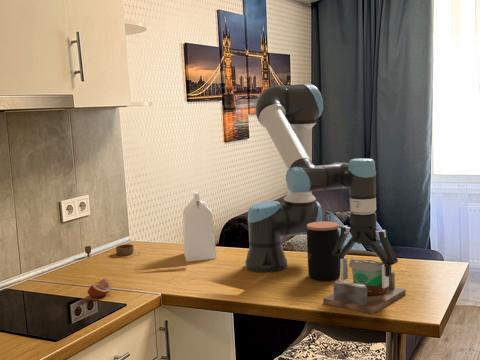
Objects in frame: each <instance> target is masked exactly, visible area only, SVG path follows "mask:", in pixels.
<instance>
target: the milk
mask: <svg viewBox="0 0 480 360" xmlns="http://www.w3.org/2000/svg"><path fill="white" fill-rule="evenodd" d="M208 206H209V204H208V202H206V201H205V200H200V195H199V192H198V191H193V199H192V200H191V201H190V202H189V203H188V204H187V205H186V206H185V207H184V209H183V210H182V222H183V223H182V224H183V225H182V227H183V228H182V229H183V230H182V231H183V255H184V258H185V261H186V262H195V261H206V260H216V259H217V249H216V238H215V225H214V216H213V212H212V210H211V208H209V207H208Z"/></svg>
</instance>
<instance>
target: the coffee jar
mask: <svg viewBox="0 0 480 360" xmlns="http://www.w3.org/2000/svg"><path fill="white" fill-rule="evenodd" d="M307 228H308V231H307V234H306V243H307V270H308V271H307V272H308V277H309V278H310V279H311V280H313V281H318V282H332V281H337V280H339V277H341V269H340V268H339V267H338V257H337V256H333V255H332V252H333V250H334V247H335V245H336V243H337V241H338V238H339V236H340V230H338V228H340V224H339V223H338V222H334V221H325V220H323V221H321V222H312V223H309V224H307Z"/></svg>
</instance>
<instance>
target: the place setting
mask: <svg viewBox="0 0 480 360" xmlns="http://www.w3.org/2000/svg"><path fill="white" fill-rule="evenodd" d="M134 248H135V247H134V245H133V244H120V245H117V246H115V251H116V253H115V254H116V255H117V256H118V257H122V259H127V258H129V256H130V255H132V256H130V258H132V257H136V256H139V255H140V254H141V251H138V254H134ZM84 251H85V254H87V258H91V256H90V254H91V253H92V246H90V245H86V246H84ZM133 254H134V255H133ZM109 257H110V258H114V259H118V257H116V256H115V257H114V256H112V254H110V255H109Z"/></svg>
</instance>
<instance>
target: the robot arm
mask: <svg viewBox="0 0 480 360" xmlns="http://www.w3.org/2000/svg"><path fill="white" fill-rule="evenodd" d="M323 101H324V100H323V96H322V94H321V91H320V90H319V88H318V87H317V86H315V85H314V84H305V83H302V84H300V83H299V84H298V83H297V84H284V85H282V84H281V85H275V84H274V85H272V86H269V87H267V88H266V89H264V90H263V91H262V92H261V93H260V95H258V98H257V101H256V102H255V117H256V119H257V120H258V123H259V124H260V125H261V127H263V128H265V130H266V131H267V133H268V135H269V137H270V138H271V140H272V142H273V144H274V146H275V148H276V149H277V152H278V153H279V155H280V157H281V159H282V161H283V163H284V164H285V166H286V169H287V170H286V173H285V182H286V187H287V194H286V195H285V196H284V197H283V204H281V203H280V201H278V200H271V201H263V202H262V201H261V202H258V203H255V204H252V205H251V206H250V207H249V208H248V210H247V223H248V241H249V242H248V243H249V247H248V251H247V255H246V259H245V263H244V264H245V269H246V270H247V271H249V272H254V273H260V274H261V273H263V274H264V273H265V274H267V273H277V272H280V271H283V270H286V269H288V259H287V257H286V254H285V251H284V248H283V243H282V239H283V238H284V237H291V236H292V237H293V236H299V235H303V236H304V235H307V231H308V228H307V224H309V223H312V222H322V220H323V210H322V205H321V204H320V202H318V201H317V198H316V196H314V195H313V193H312V192H317V191H328V190H337V189H339V190H340V189H347V190H349V191H348V193H349V194H348V195H349V211H350V213H349V222H350V223H349V224H350V226H349V225H344V226H341V228H340V232H339V238H338V241H337V243H336V245H335V247H334V250H333V252H332V255H333V256H337V257H338V267H339V268H340V281H346V280H347V279H348V278H349V274H348V273H349V272H348V268H349V267H348V257H346V256H347V254H348V253H349V251H350V250H351V249H352V248H353V247H354V246H355V245H356V244H359V245H360V244H363V245H365V246H366V245H368V246H369V247H371V248H372V249H373V251H374V253H375V254H376V255H377V257H378V258H379V259H380V261H381V263H382V262H383V263H384V265H382V288H386V287H388V286H389V276H391V271H392V265H395V264H397V263H398V262H399V259H398V258H397V255H396V254H395V253H396V252H395V251H394V249H393V247H392V244H391V241H390V239H389V238H388V230H386V229H383V230H377V213H376V211H377V170H376V162H375V160H374V159H373V158H359V157H358V158H352V159H350V160H349V161H348V162H343V161H341V162H338V161H337V162H333V163H330V164H320V165H315V164H314V163H313V127H314V126H316V125H317V118H319V117H321V116H322V115H323V112H324V102H323ZM349 234H350V235H351V238H350V239H349V240H348V242H347V243H346V245H344V243H345V241H346V240H347V238H348V235H349ZM378 239H379V240H378ZM379 242H380V243H379ZM380 244H381V245H380ZM343 246H344V247H343Z"/></svg>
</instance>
